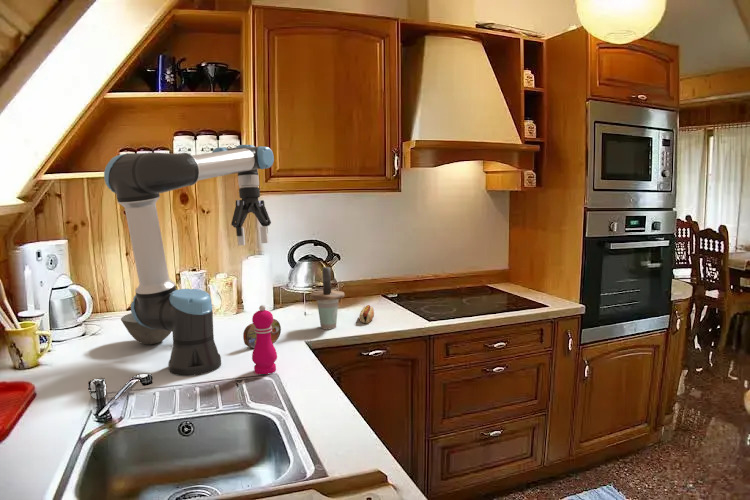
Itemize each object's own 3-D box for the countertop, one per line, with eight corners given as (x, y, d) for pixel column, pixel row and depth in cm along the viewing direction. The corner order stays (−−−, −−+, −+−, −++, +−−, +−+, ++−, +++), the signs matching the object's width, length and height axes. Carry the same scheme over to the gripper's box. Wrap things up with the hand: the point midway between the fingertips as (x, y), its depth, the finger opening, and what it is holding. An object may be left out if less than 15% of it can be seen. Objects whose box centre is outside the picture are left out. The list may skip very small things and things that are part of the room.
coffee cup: (336, 330, 197) (335, 299, 196) (314, 329, 199) (313, 298, 198) (342, 324, 206) (341, 294, 204) (321, 323, 207) (320, 293, 206)
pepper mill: (266, 377, 152) (263, 309, 149) (247, 373, 156) (244, 306, 153) (282, 369, 158) (279, 303, 156) (263, 365, 162) (260, 301, 159)
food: (372, 324, 205) (372, 312, 204) (358, 324, 206) (357, 312, 205) (375, 315, 219) (375, 303, 218) (362, 315, 219) (361, 303, 219)
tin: (248, 351, 176) (247, 326, 174) (242, 349, 177) (240, 325, 176) (282, 340, 187) (281, 316, 186) (275, 338, 189) (274, 315, 188)
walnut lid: (335, 301, 192) (334, 271, 191) (303, 298, 197) (302, 269, 196) (350, 293, 204) (349, 265, 203) (319, 291, 209) (319, 264, 208)
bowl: (151, 353, 174) (149, 324, 173) (111, 347, 182) (108, 319, 181) (192, 338, 191) (190, 311, 190) (154, 332, 199) (152, 306, 198)
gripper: (261, 189, 210) (265, 242, 211) (218, 187, 188) (223, 246, 189) (277, 187, 207) (281, 241, 208) (234, 184, 185) (239, 245, 185)
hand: (253, 244), depth 198 cm, fingers open, 13 cm apart
